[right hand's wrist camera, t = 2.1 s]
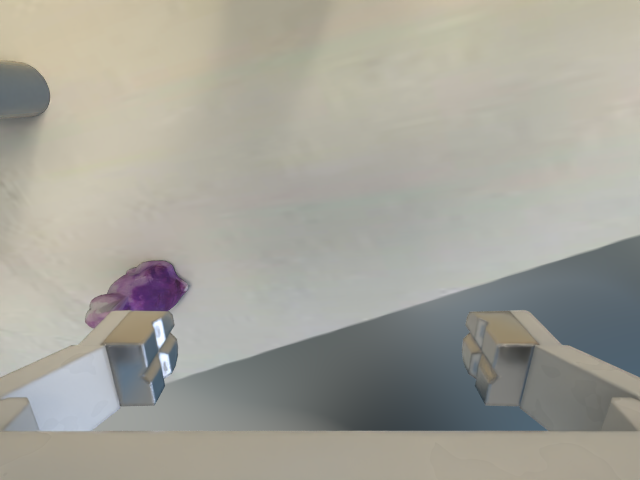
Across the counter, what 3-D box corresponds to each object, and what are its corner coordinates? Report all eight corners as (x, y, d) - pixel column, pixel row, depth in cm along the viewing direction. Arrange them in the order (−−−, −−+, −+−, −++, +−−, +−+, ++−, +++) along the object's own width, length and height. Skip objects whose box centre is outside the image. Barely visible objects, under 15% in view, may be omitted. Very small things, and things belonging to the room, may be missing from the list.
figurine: (113, 282, 63) (54, 335, 49) (150, 244, 61) (99, 288, 47) (157, 317, 66) (113, 377, 52) (195, 282, 63) (159, 334, 49)
